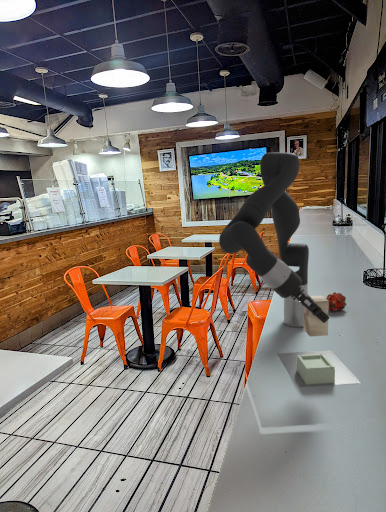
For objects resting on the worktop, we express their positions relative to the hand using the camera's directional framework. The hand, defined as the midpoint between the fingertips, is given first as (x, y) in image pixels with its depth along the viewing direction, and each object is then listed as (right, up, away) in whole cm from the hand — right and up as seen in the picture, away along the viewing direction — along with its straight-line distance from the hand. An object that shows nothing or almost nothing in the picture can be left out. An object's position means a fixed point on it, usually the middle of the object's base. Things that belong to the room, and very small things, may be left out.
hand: (322, 316), depth 96 cm
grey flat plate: (+1, -18, +8) cm, 20 cm away
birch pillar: (-2, -5, +1) cm, 5 cm away
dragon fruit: (+28, -8, +57) cm, 64 cm away
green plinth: (-1, -18, +3) cm, 18 cm away
